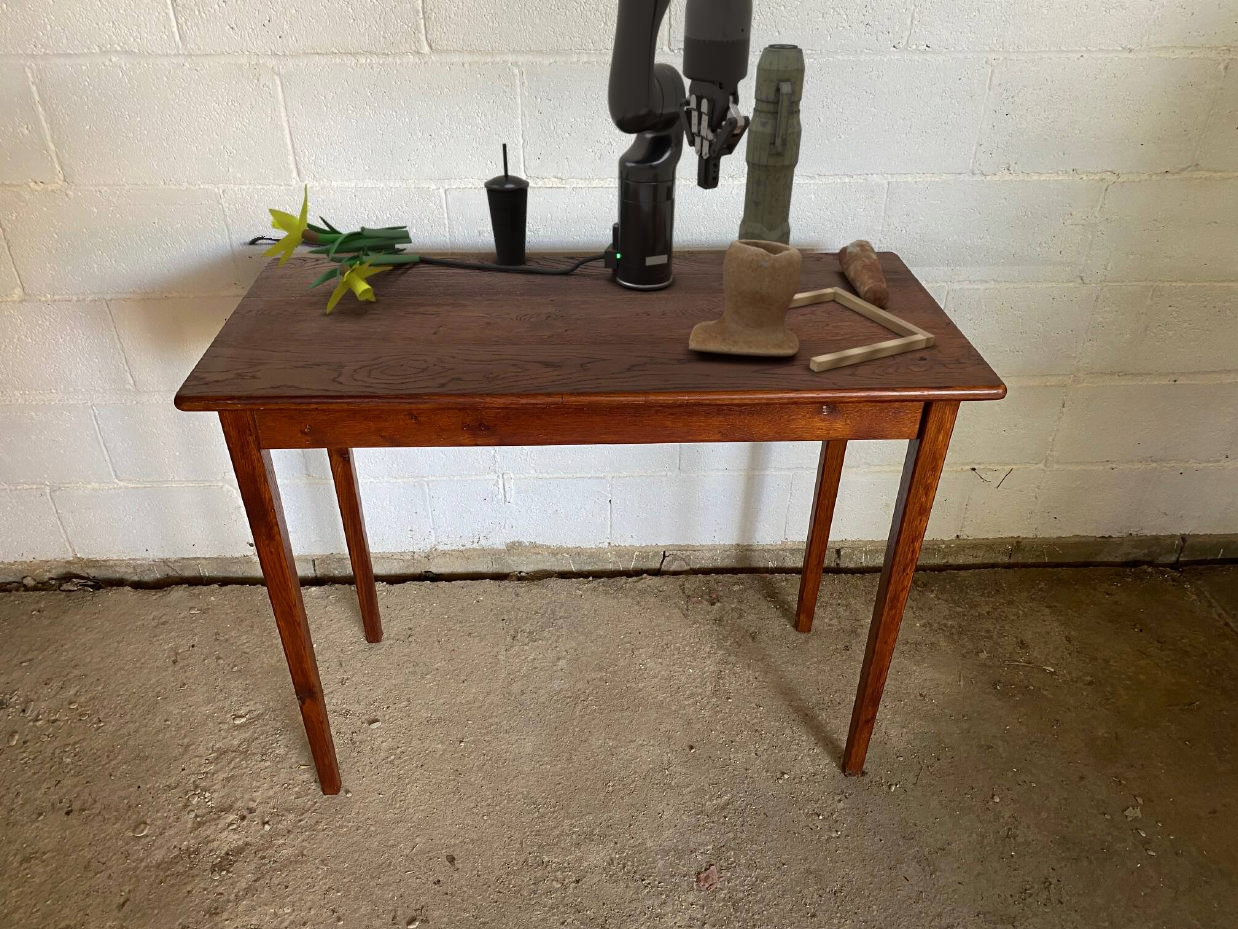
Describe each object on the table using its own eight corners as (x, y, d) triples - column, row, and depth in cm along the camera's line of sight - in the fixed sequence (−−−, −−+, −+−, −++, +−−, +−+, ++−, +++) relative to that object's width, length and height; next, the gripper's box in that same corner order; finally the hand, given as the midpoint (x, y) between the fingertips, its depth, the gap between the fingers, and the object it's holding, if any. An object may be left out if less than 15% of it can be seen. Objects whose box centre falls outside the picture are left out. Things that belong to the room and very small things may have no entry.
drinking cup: (539, 257, 151) (534, 141, 141) (522, 270, 145) (515, 149, 135) (501, 252, 153) (493, 137, 143) (482, 265, 147) (472, 146, 137)
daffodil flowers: (462, 270, 148) (364, 283, 115) (397, 308, 152) (285, 332, 119) (414, 182, 145) (300, 170, 112) (349, 224, 150) (222, 224, 117)
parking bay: (816, 372, 112) (817, 362, 111) (728, 315, 129) (729, 306, 128) (932, 345, 119) (934, 336, 119) (835, 295, 136) (836, 286, 135)
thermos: (775, 251, 155) (798, 41, 136) (795, 273, 145) (823, 49, 126) (728, 253, 154) (745, 41, 135) (746, 275, 144) (766, 49, 125)
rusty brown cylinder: (871, 270, 147) (876, 239, 144) (891, 311, 131) (898, 277, 128) (834, 269, 147) (839, 237, 144) (850, 309, 131) (856, 275, 128)
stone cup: (794, 333, 123) (807, 232, 115) (799, 368, 113) (814, 259, 105) (691, 327, 124) (697, 227, 116) (687, 361, 114) (693, 254, 106)
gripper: (779, 37, 91) (762, 197, 101) (714, 23, 101) (704, 170, 111) (721, 42, 88) (709, 206, 98) (659, 26, 98) (655, 177, 108)
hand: (707, 187), depth 104 cm, fingers closed
